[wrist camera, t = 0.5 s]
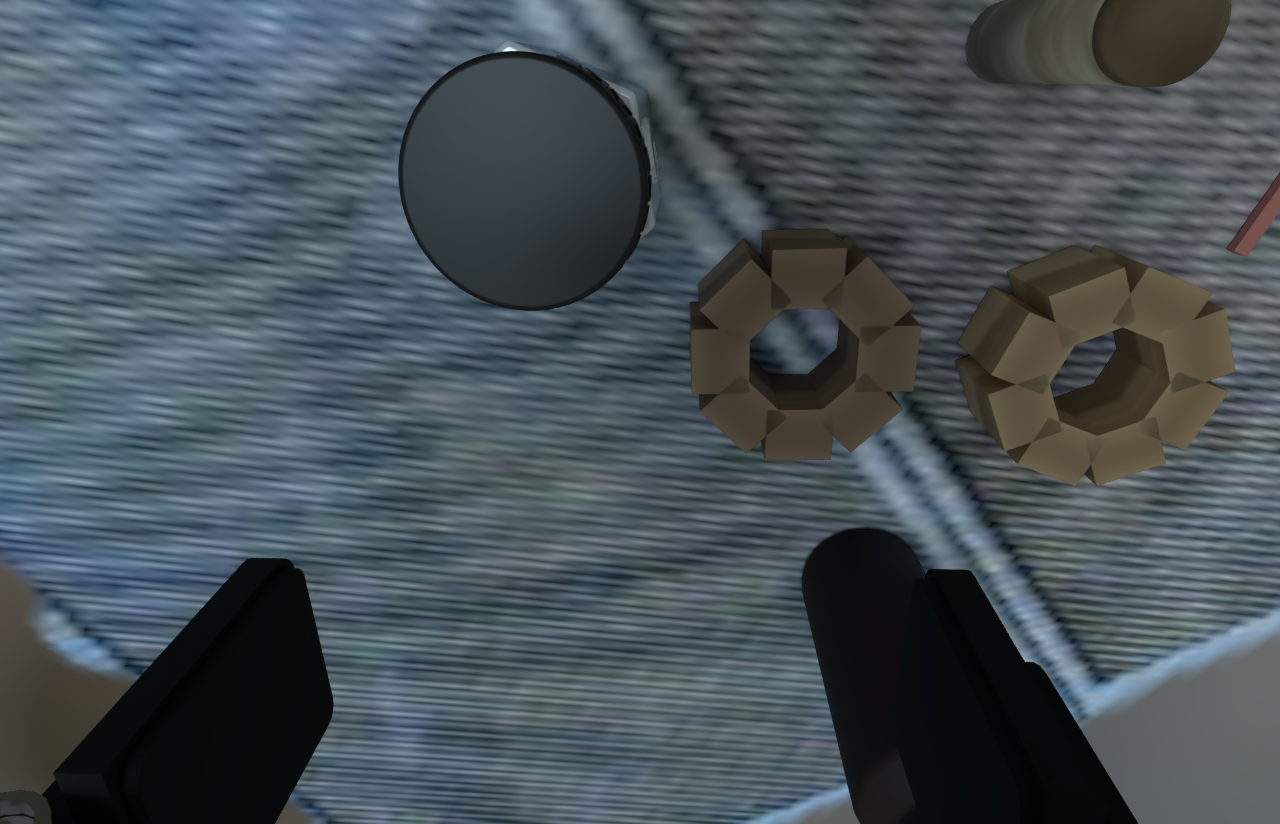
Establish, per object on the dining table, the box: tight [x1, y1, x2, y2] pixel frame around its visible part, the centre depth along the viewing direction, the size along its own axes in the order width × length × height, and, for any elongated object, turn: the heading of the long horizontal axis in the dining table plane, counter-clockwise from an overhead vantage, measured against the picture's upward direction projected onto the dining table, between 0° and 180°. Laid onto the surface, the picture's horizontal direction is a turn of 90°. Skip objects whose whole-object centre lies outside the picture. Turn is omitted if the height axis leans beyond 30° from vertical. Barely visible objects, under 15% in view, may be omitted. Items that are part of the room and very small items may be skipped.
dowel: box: [966, 0, 1231, 87], centre depth 27 cm, size 3×3×12 cm
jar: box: [398, 41, 661, 311], centre depth 30 cm, size 9×8×12 cm
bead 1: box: [690, 229, 921, 460], centre depth 36 cm, size 10×10×4 cm
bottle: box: [802, 529, 926, 824], centre depth 35 cm, size 7×7×20 cm
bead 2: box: [955, 245, 1235, 486], centre depth 36 cm, size 10×10×4 cm
